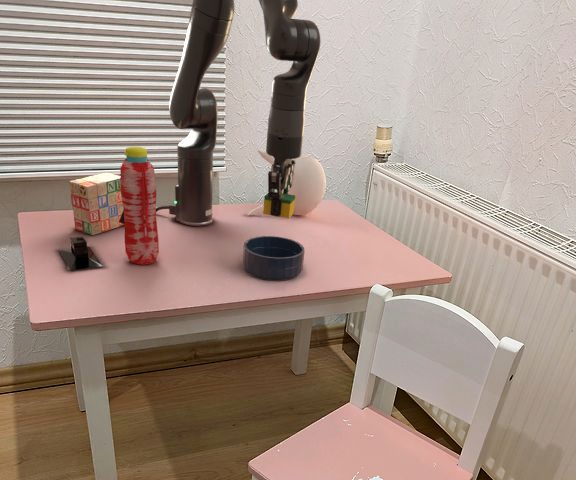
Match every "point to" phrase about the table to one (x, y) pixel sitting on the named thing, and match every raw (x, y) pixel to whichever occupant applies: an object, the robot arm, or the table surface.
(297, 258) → the bowl
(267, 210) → the sponge
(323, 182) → the stuffed toy
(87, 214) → the stack of blocks
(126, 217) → the water bottle
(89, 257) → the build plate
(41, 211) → the table surface
